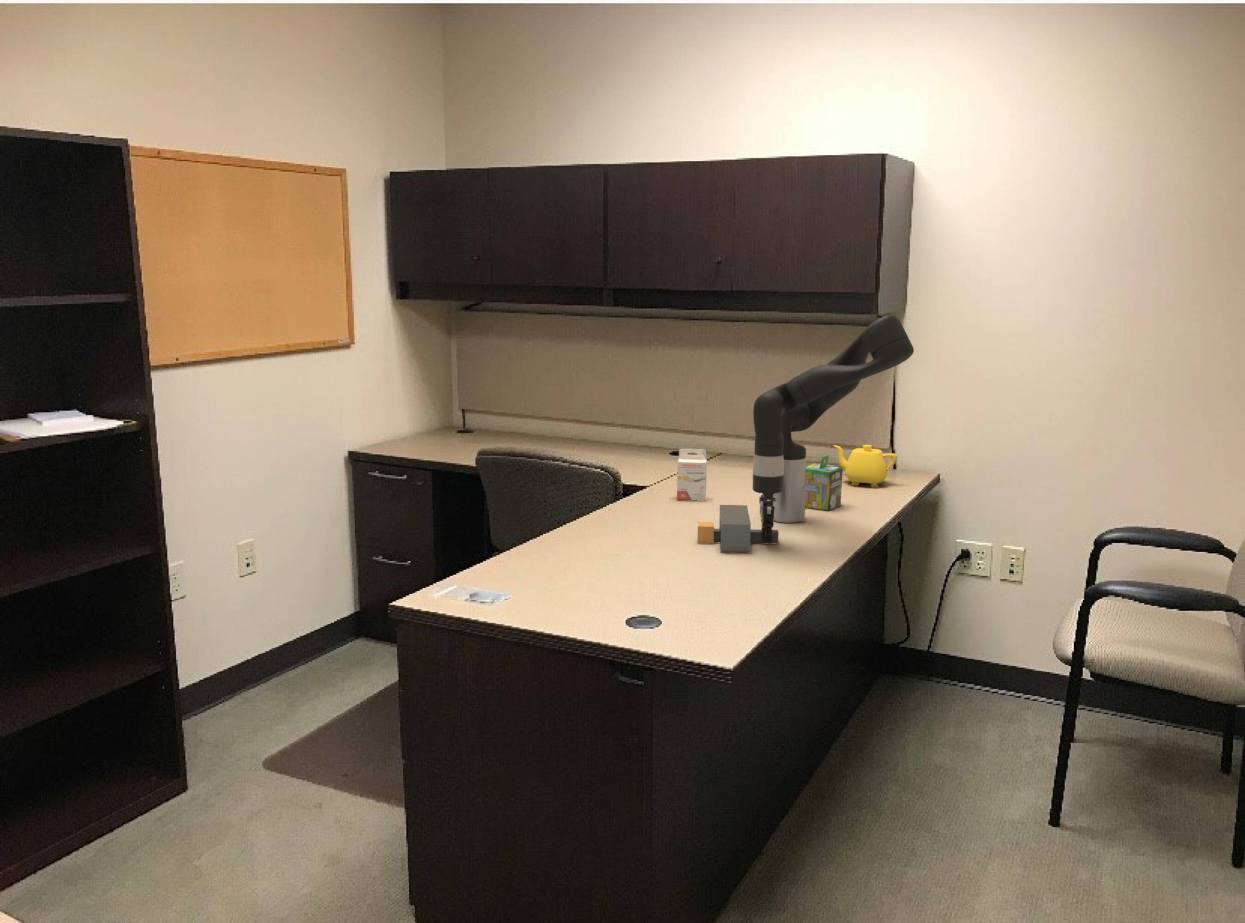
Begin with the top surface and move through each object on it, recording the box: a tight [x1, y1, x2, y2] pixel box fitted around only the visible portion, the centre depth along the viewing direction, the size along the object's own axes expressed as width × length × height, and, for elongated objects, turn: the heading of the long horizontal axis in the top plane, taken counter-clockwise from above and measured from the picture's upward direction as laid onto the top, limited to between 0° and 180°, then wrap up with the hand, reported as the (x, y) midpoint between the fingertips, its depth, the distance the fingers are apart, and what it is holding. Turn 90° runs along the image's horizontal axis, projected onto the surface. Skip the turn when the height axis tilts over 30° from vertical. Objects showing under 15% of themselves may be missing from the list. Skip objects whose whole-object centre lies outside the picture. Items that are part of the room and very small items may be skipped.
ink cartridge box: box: [676, 448, 708, 502], centre depth 300 cm, size 9×5×15 cm, turn 84°
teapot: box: [833, 444, 898, 488], centre depth 321 cm, size 13×20×12 cm
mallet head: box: [718, 504, 752, 553], centre depth 254 cm, size 7×20×7 cm, turn 176°
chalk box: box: [805, 454, 844, 512], centre depth 291 cm, size 9×9×15 cm
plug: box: [697, 521, 780, 544], centre depth 255 cm, size 20×4×4 cm, turn 86°
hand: (766, 539), depth 254 cm, fingers open, 3 cm apart
